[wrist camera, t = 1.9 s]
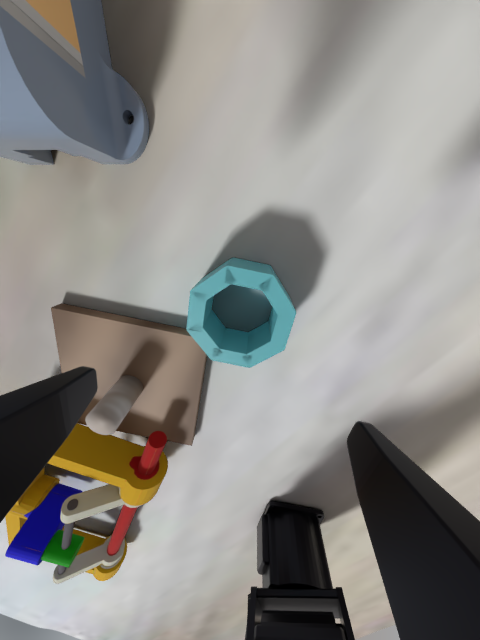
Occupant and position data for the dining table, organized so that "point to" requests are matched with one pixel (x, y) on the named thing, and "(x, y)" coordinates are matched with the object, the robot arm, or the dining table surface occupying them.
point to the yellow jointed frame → (85, 503)
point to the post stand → (133, 372)
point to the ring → (237, 343)
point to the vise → (64, 86)
